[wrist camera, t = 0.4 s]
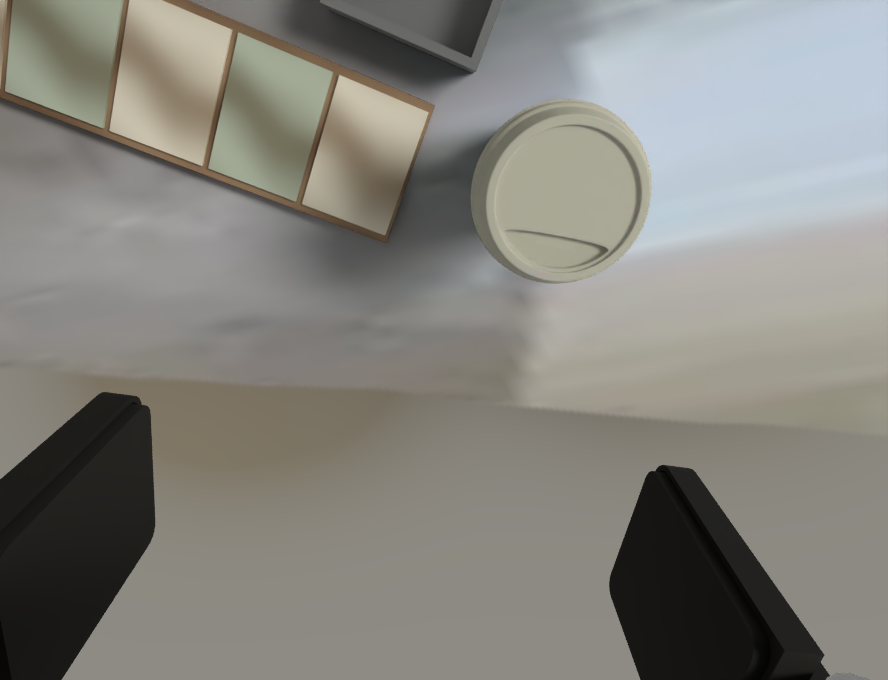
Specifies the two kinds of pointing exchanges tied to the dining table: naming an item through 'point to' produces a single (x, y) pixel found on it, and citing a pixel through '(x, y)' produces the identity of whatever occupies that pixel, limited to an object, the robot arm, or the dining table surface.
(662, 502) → the robot arm
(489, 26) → the dice tray
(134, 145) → the track
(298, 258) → the dining table surface
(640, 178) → the coffee cup
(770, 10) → the dining table surface
